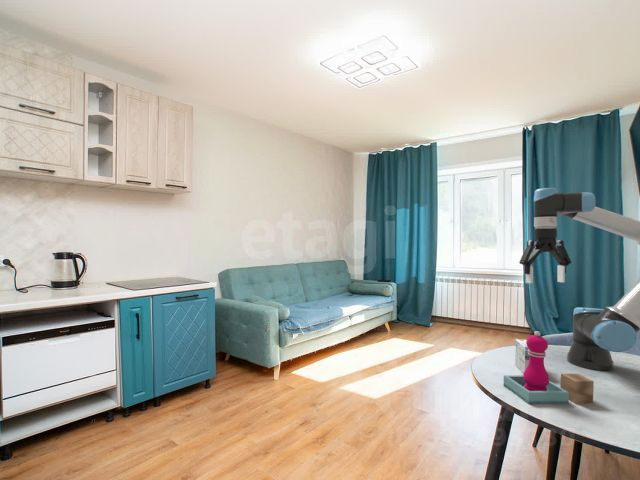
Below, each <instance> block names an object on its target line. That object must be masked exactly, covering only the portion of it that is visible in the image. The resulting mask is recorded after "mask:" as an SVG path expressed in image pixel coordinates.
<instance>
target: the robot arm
mask: <svg viewBox="0 0 640 480" xmlns="http://www.w3.org/2000/svg"><path fill="white" fill-rule="evenodd" d="M533 211H534V212H533V214H534V215H533V216H534V217H533V227H534V229H533V237H534V240H527V241H526V247H525V249H524V250H523V251H524V252H523V253H522V256H521V257H520V259H519V265H523V266H524V274H525V283H527V284H533V283H534V277H533V276H534V272H533V271H534V267H533V266H532V264H533V263H534V262H535V261H536V259H537V258H538V256H539V255H540V254H541V253H550V254H551V255H552V257H553V258H554V259H555V260H556V262H557V263H558V265H557V269H556V270H557V276H556V277H557V283H566V273H567V266H569V265H571V264H572V260H571V258H570V255H569V254H568V252H567V249H566V247H565V242H564V240H562V239H559V240H558V239H557V237H558V229H557V227H558V216H563V217H566V218H568V219H572V220H575V221H577V222H580V223H584V224H586V225H590V226H592V227H595V228H598V229H601V230H604V231H606V232H609V233H612V234H615V235H617V236H620V237H623V238H627V239H629V240H632V241H635V242H637V245H639V246H640V220H637V219H635V218H632V217H629V216H625V215H623V214H620V213H615V212H614V211H613V212H612V211H610V210H607V209H604V208H601V207H598V206H596V196H595V194H594V193H592V192H589V191H588V192H586V191H585V192H584V191H581V192H562V193H561V192H559V191H558V189H557V188H555V187H544V188H543V187H542V188H537V189H536V190H534V195H533ZM572 317H573V318H572V342H571V345H570V348H569V350H568V352H567V354H566V360H567V361H568V362H569V363H571V364H572V365H575V366H578V367H581V368H584V369H585V368H586V369H590V370H596V371H612V370H613V369H614V368H615V366H614V361H613V358H612V355H611V353H622V352H627V351H629V350H631V349H632V348H633V347H634V346H635V345H636V344H637V340H638V338H637V333H638V332H639V331H640V278H639V279H638V280H637V281H636V282H635V283H634V285H632V287H631V288H630V289H628V291H627V292H626V293H625V294H624V295H623V296H622V297H621V298H620V299H619V300H618V301H617V303H615V304H614V305H613V306H606V307H604V308H596V307H595V308H594V307H578V306H577V307H575V308H574V309H573V313H572Z"/></svg>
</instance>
